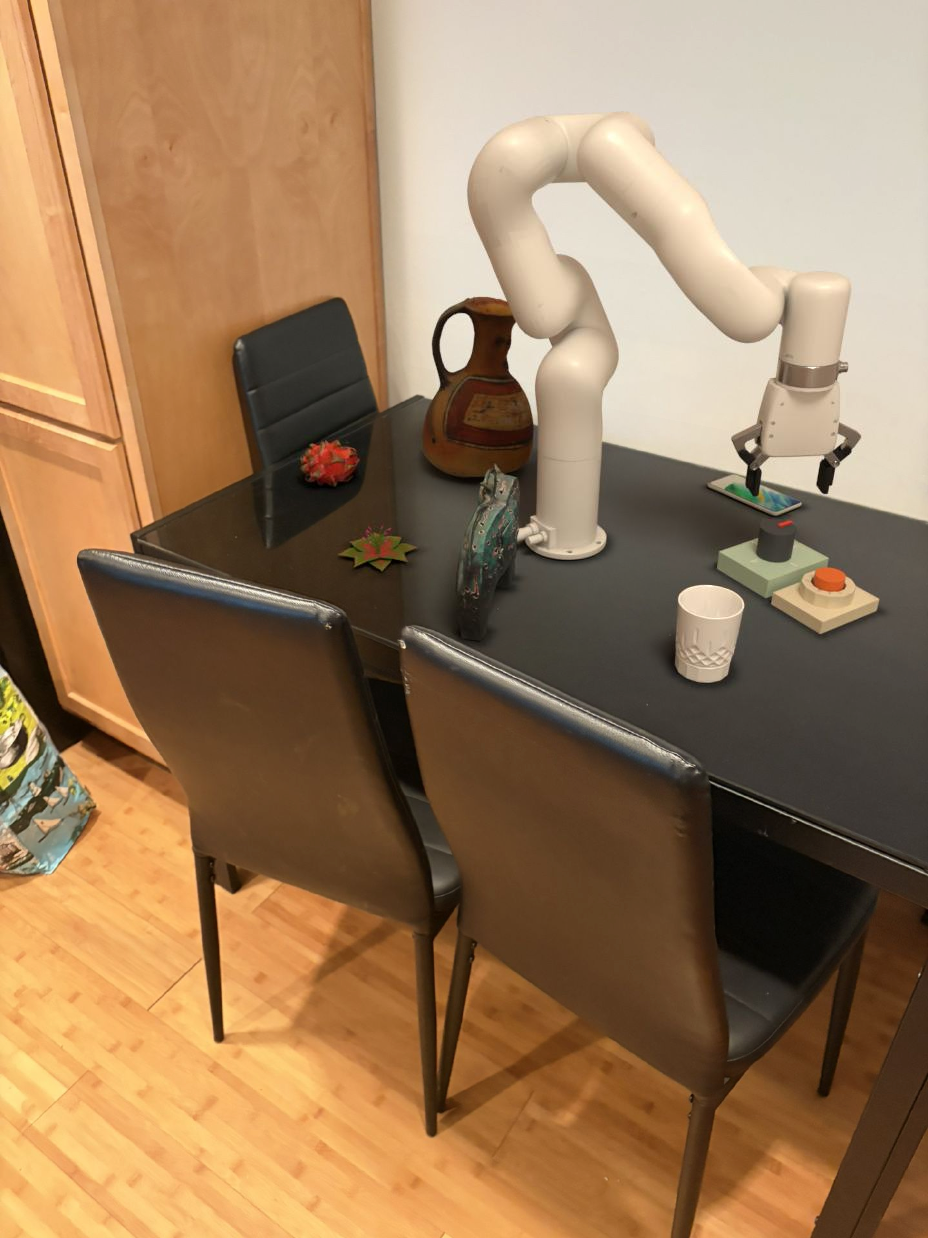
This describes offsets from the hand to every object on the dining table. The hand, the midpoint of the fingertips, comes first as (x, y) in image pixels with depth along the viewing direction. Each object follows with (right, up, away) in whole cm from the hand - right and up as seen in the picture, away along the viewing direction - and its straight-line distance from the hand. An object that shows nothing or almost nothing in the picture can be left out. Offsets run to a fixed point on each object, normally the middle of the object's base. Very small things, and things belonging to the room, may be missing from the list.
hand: (787, 491), depth 136 cm
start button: (+4, -13, -3) cm, 14 cm away
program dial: (0, -9, +6) cm, 10 cm away
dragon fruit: (-69, +7, +37) cm, 79 cm away
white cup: (-15, -24, -13) cm, 31 cm away
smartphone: (+4, +3, +28) cm, 29 cm away
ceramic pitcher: (-43, +10, +41) cm, 60 cm away
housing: (+5, -16, -1) cm, 17 cm away
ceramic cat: (-42, -16, +1) cm, 45 cm away
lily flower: (-59, -8, +14) cm, 61 cm away
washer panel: (0, -11, +7) cm, 13 cm away
